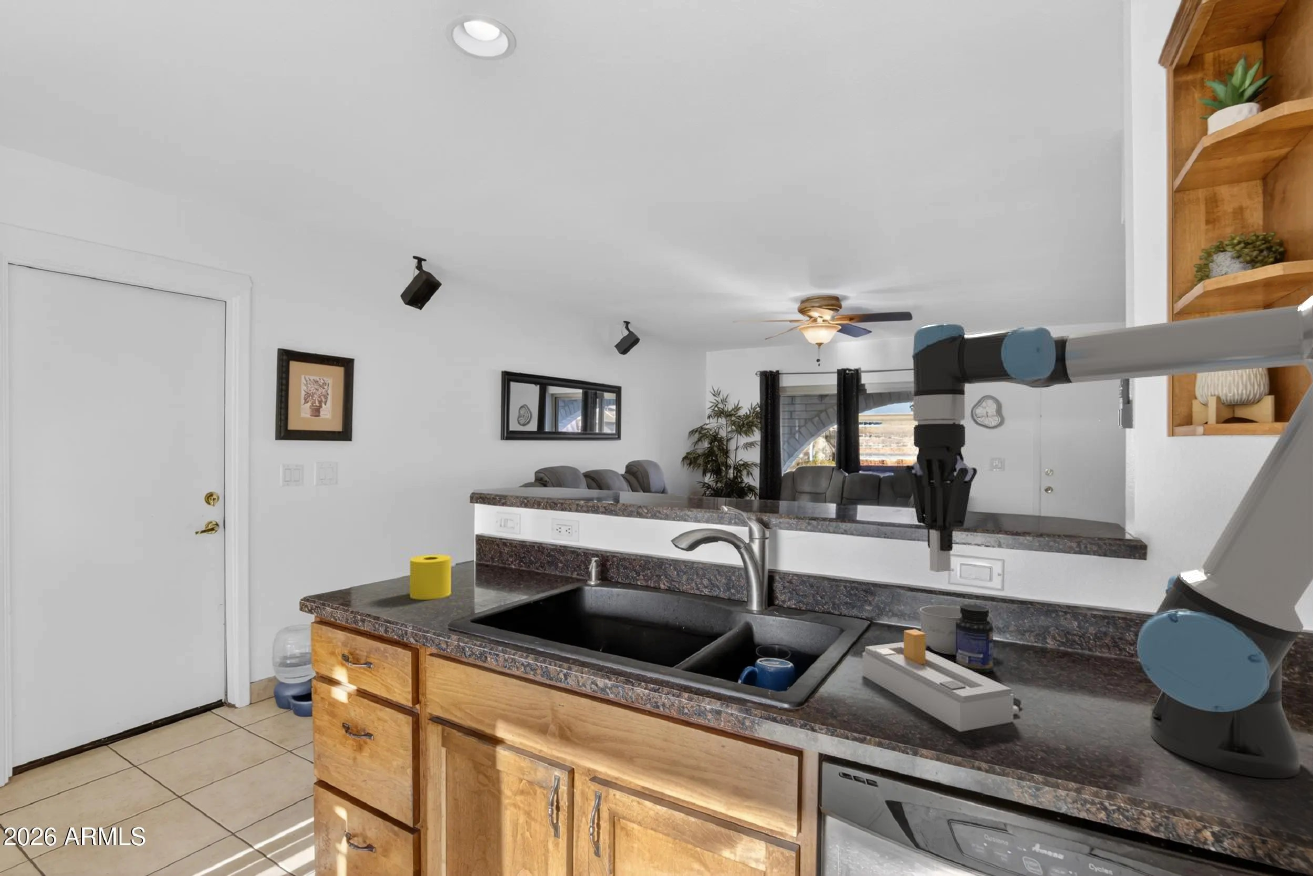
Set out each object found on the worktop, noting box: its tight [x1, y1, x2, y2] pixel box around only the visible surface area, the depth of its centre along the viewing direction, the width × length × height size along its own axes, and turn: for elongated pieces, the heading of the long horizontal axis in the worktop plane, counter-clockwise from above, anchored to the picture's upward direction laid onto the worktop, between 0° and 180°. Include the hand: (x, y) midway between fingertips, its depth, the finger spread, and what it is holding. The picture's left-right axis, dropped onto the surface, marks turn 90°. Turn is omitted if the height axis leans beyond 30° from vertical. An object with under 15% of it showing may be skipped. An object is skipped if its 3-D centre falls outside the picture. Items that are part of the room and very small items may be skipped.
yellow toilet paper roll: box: [409, 554, 452, 601], centre depth 164 cm, size 10×10×9 cm
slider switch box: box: [862, 641, 1014, 732], centre depth 102 cm, size 22×10×5 cm, turn 19°
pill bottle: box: [955, 603, 994, 674], centre depth 115 cm, size 6×6×11 cm
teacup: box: [919, 604, 996, 656], centre depth 124 cm, size 14×11×8 cm
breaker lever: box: [903, 629, 927, 664], centre depth 106 cm, size 2×2×5 cm
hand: (940, 570), depth 100 cm, fingers closed
